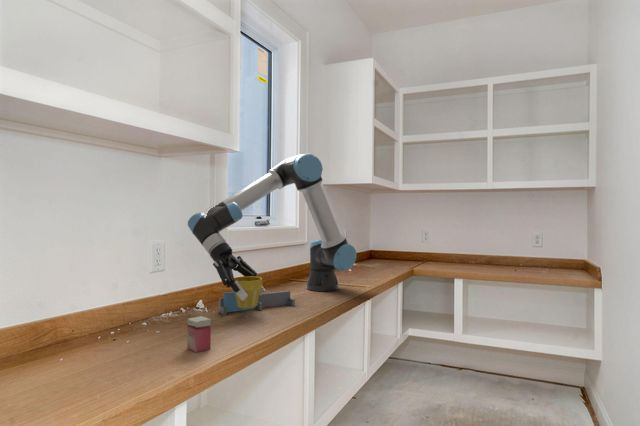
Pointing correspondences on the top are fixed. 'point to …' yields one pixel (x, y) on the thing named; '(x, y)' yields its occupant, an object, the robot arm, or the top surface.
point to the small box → (199, 334)
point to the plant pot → (249, 291)
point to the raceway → (263, 301)
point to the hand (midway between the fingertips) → (254, 295)
